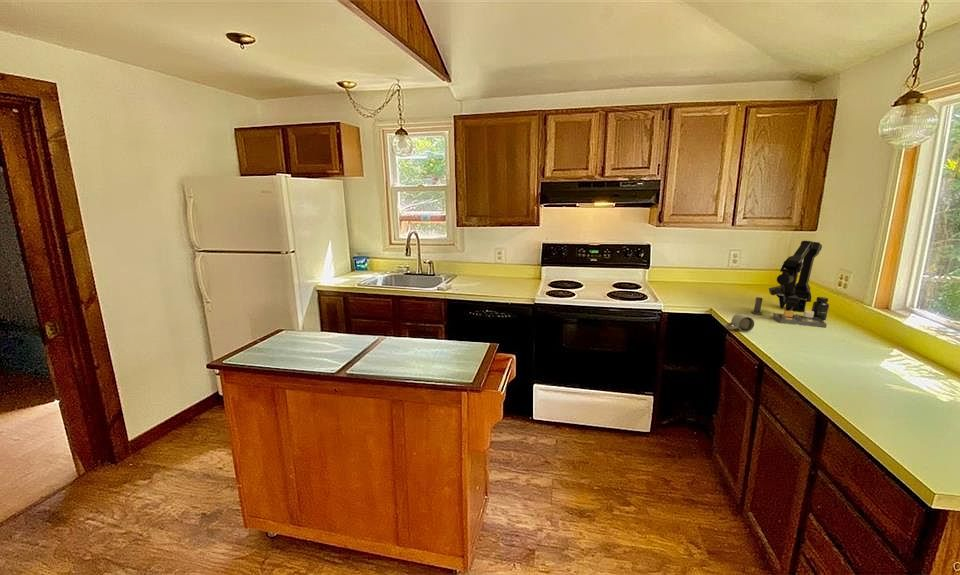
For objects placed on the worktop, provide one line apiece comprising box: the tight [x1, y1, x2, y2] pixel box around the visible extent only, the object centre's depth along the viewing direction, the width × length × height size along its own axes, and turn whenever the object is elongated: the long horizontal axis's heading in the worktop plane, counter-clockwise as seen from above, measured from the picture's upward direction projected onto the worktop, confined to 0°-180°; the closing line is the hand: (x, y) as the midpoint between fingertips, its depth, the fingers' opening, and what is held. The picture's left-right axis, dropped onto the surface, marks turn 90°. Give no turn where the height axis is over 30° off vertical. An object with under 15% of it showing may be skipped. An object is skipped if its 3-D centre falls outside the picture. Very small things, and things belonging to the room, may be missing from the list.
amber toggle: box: [782, 309, 794, 317], centre depth 224 cm, size 2×4×3 cm, turn 71°
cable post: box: [750, 296, 764, 316], centre depth 236 cm, size 5×5×9 cm
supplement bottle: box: [811, 296, 830, 322], centre depth 227 cm, size 7×7×12 cm
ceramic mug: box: [725, 313, 755, 333], centre depth 209 cm, size 11×8×8 cm
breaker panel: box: [772, 312, 827, 328], centre depth 223 cm, size 12×20×3 cm, turn 71°
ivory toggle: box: [803, 310, 814, 318], centre depth 223 cm, size 2×4×3 cm, turn 71°
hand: (783, 310), depth 230 cm, fingers open, 9 cm apart
